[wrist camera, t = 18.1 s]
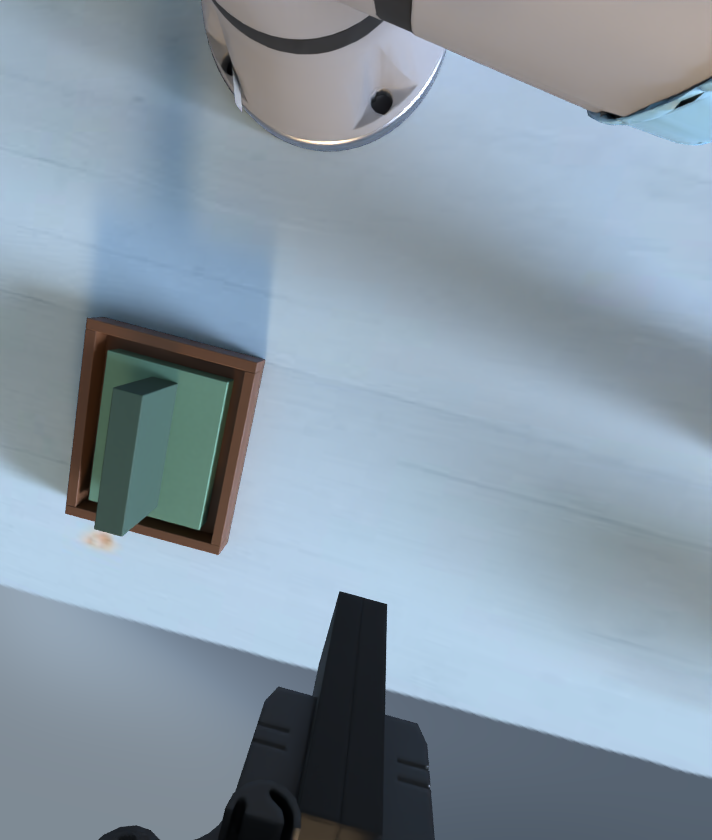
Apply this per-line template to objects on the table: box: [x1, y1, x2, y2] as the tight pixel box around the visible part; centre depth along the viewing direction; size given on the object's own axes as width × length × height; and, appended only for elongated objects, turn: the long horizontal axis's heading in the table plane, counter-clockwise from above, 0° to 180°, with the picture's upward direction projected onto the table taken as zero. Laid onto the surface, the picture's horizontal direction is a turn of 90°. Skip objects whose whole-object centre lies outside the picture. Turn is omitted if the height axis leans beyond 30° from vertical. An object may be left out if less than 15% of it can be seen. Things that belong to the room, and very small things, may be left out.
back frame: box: [65, 317, 265, 555], centre depth 37 cm, size 16×13×2 cm
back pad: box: [89, 349, 234, 536], centre depth 34 cm, size 12×9×6 cm
